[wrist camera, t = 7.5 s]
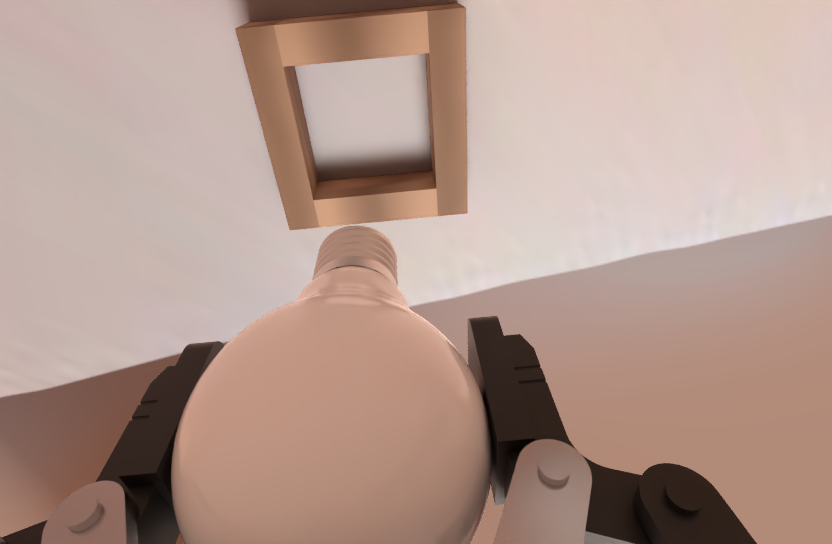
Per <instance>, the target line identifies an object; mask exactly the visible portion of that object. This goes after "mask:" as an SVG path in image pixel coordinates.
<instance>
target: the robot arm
mask: <svg viewBox="0 0 832 544" xmlns="http://www.w3.org/2000/svg"><path fill="white" fill-rule="evenodd" d="M223 347H224V345H223V343H221V342H219V341H217V342H206V343H196V344H189V345H187V346H186V347H185V349H184V350H183V352H182V354H181V357H180V358H179V361H178V362H177V364H176V366H169V367H167V368H166V369H165V370H164V371H163V372H162V373H161V374H160V375H159V376H158V377H157V378H156V379H155V380H154V381H153V382H152V383H151V384H150V386H149V388H148V389H147V391H146V393H145V395H144V396H143V398H142V400H141V405H139V406H138V407H137V409H136V411H135V413H134V414H133V416H132V421H129V423H128V425H127V427H126V429H125V430H124V432H123V434H122V436H121V438H120V440H119V441H118V443H117V445H116V447H115V448H114V450H113V452H112V454H111V456H110V458H109V459H108V461H107V463H106V465H105V466H104V468H103V470H102V472H101V474H100V476H99V477H98V479H97V480H96V482H95V483H91V484H89V485H87V486H84V487H82V488H81V489H79V490H77V491H76V492H74V493H73V494H71V495H70V496H69V497H67V498H66V499H65V500H64V501H63V502H62V503H61V504H60V505H59V506H58V507H57V508H56V509H55V510H54V512H53V513H52V514H51V516H50V517H49V519H48V520H47V521H44V522H41V523H38V524H36V525H33V526H31V527H28V528H26V529H23V530H20V531H18V532H15V533H13V534H10V535H7V536H4V537H2V538H1V537H0V544H176V541H177V538H178V536H179V534H180V532H179V528H178V525H177V521H176V517H175V513H174V508H173V501H172V492H171V463H172V453H173V447H174V441H175V436H176V432H177V428H178V425H179V422H180V419H181V416H182V413H183V410H184V408H185V405H186V403H187V401H188V399H189V396H190V394H191V392H192V391H193V389H194V387H195V385H196V383H197V382H198V380H199V378H200V377H201V375H202V374H203V372H204V371H205V369H206V368H207V366H208V365H209V364H210V362H211V361H212V360H213V359H214V357H215V356H216V355H217V354H218V353H219V352H220V350H221V349H222V348H223ZM468 363H469V368H470V369H471V371H472V373H473V375H474V377H475V379H476V381H477V383H478V385H479V387H480V390H481V392H482V395H483V398H484V401H485V404H486V408H487V412H488V417H489V423H490V430H491V438H492V449H493V464H492V477H491V487H492V492H493V497H494V502H495V505H500V504H504V508H503V511H502V515H501V518H500V522H499V526H498V529H497V532H496V536H495V539H494V543H493V544H757V543H756V542H755V541H754V539H753V538H752V537H751V535H750V534H749V533H748V532H747V530H746V529H745V528H744V526H743V525H742V523H741V522H740V521H739V519H738V518H737V516H736V515H735V514H734V512H733V511H732V510H731V508H730V507H729V506H728V504H727V503H726V502H725V500H724V499H723V498H722V496H721V495H720V494H719V493H718V491H717V490H716V489H715V488H714V486H713V485H712V484H711V483H710V482H709V481H707V480H706V479H705V478H704V477H702V476H701V475H700V474H698V473H696V472H694V471H693V470H691V469H688V468H686V467H683V466H680V465H676V464H670V463H669V464H668V463H663V464H657V465H654V466H652V467H650V468H648V469H647V470H646V471H645V472H644V473H643V475H638V474H633V473H628V472H624V471H619V470H614V469H610V468H606V467H602V466H600V465H597V464H595V463H594V462H591V461H590V460H588V459H587V458H585V457H584V456H583V455H582V454H580V453H579V452H578V451H577V450H576V449H575V448H574V446H573V445H572V444H571V442H570V441H569V439H568V436H567V434H566V432H565V429H564V426H563V424H562V421H561V419H560V416H559V413H558V411H557V408H556V405H555V403H554V400H553V398H552V395H551V392H550V390H549V387H548V384H547V383H546V381H545V376H544V374H543V371H542V369H541V368H540V364H539V361H538V358H537V356H536V353H535V350H534V348H533V347H532V346H531V345H530V344H529V343H528V342H527V341H526V340H525V339H524V338H523V337H522V336H521V335H520V334H518V335H507V336H504V335H503V332H502V329H501V326H500V322H499V320H498V317H497V316H491V317H481V318H469V319H468Z"/></svg>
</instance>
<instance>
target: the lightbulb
mask: <svg viewBox="0 0 832 544" xmlns="http://www.w3.org/2000/svg"><path fill="white" fill-rule="evenodd" d="M492 464H493V449H492V438H491V430H490V423H489V417H488V412H487V408H486V404H485V401H484V398H483V395H482V392H481V390H480V387H479V385H478V383H477V381H476V379H475V377H474V375H473V373H472V371H471V369H470V368H469V366H468V364H467V363H466V361H465V360H464V358H463V357H462V355H461V354H460V353H459V351H458V350H457V349H456V348H455V346H454V345H453V344H452V343H451V342H450V341H449V340H448V339H447V338H446V337H445V336H444V335H443V334H442V333H441V332H440V331H439V330H438V329H437V328H435V327H434V326H433V325H432V324H430V323H429V322H428V321H427V320H425V319H424V318H422V317H421V316H419V315H418V314H416V313H415V312H413V311H411V310H410V309H409V307H408V304H407V302H406V300H405V298H404V296H403V295H402V293H401V292H400V290H399V289H398V280H397V256H396V252H395V249H394V247H393V245H392V243H391V242H390V241H389V239H388V238H387V237H386V236H384V235H383V234H382V233H380V232H379V231H377V230H374V229H372V228H369V227H364V226H348V227H344V228H341V229H338V230H336V231H334V232H333V233H331V234H330V235H329V236H328V237H327V238H326V239H325V240H324V241H323V243H322V245H321V247H320V250H319V253H318V257H317V262H316V266H315V270H314V275H313V279H312V281H311V282H310V283H309V284H308V285H307V286H306V287H305V289H304V290H303V291H302V292H301V294H300V295H299V297H298V298H297V300H296V301H294V302H291V303H288V304H286V305H284V306H281V307H279V308H277V309H275V310H273V311H271V312H269V313H267V314H266V315H264V316H262V317H261V318H259V319H257V320H256V321H254V322H253V323H251V324H250V325H249V326H247V327H246V328H244V329H243V330H242V331H241V332H239V333H238V334H237V335H236V336H235V337H234V338H232V339H231V340H230V341H229V342H228V343H227V344H226V345H225V346H224V347H223V348H222V349H221V350H220V352H219V353H218V354H217V355H216V356H215V357H214V359H213V360H212V361H211V362H210V364H209V365H208V366H207V368H206V369H205V371H204V372H203V374H202V375H201V377H200V378H199V380H198V382H197V383H196V385H195V387H194V389H193V391H192V392H191V394H190V396H189V399H188V401H187V403H186V405H185V408H184V410H183V413H182V416H181V419H180V422H179V425H178V428H177V432H176V436H175V441H174V447H173V453H172V463H171V492H172V501H173V508H174V513H175V517H176V521H177V525H178V528H179V532H180V534H181V537H182V540H183V543H184V544H470V543H471V541H472V539H473V537H474V535H475V533H476V531H477V529H478V527H479V524H480V521H481V519H482V516H483V513H484V510H485V507H486V503H487V499H488V495H489V489H490V484H491V477H492Z"/></svg>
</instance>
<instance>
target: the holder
mask: <svg viewBox="0 0 832 544" xmlns="http://www.w3.org/2000/svg"><path fill="white" fill-rule="evenodd" d="M235 30H236V33H237V37H238V41H239V45H240V48H241V52H242V56H243V59H244V63H245V67H246V70H247V74H248V78H249V81H250V85H251V89H252V92H253V96H254V100H255V104H256V107H257V111H258V115H259V118H260V122H261V126H262V129H263V133H264V137H265V140H266V144H267V148H268V151H269V155H270V159H271V163H272V166H273V170H274V174H275V177H276V181H277V185H278V188H279V192H280V196H281V199H282V203H283V207H284V210H285V214H286V218H287V222H288V225H289V229H290V230H297V229H307V228H318V227H328V226H339V225H349V224H360V223H370V222H381V221H391V220H402V219H412V218H423V217H433V216H444V215H454V214H465V213H467V112H466V8H465V7H464V6H462V5H460V4H458V3H454V4H443V5H432V6H421V7H410V8H399V9H388V10H377V11H366V12H356V13H345V14H334V15H323V16H312V17H301V18H290V19H279V20H269V21H258V22H249V23H247V24H244V25H242V26H240V27H238V28H236V29H235ZM416 54H426V68H427V86H428V103H429V121H430V139H431V156H432V171H425V172H415V173H404V174H394V175H383V176H373V177H362V178H351V179H341V180H330V181H320V182H319V180H318V175H317V171H316V166H315V161H314V157H313V152H312V147H311V142H310V138H309V133H308V128H307V124H306V119H305V114H304V110H303V105H302V100H301V96H300V91H299V86H298V81H297V77H296V72H295V67H294V66H297V65H308V64H319V63H330V62H341V61H351V60H362V59H373V58H384V57H395V56H405V55H416Z"/></svg>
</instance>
